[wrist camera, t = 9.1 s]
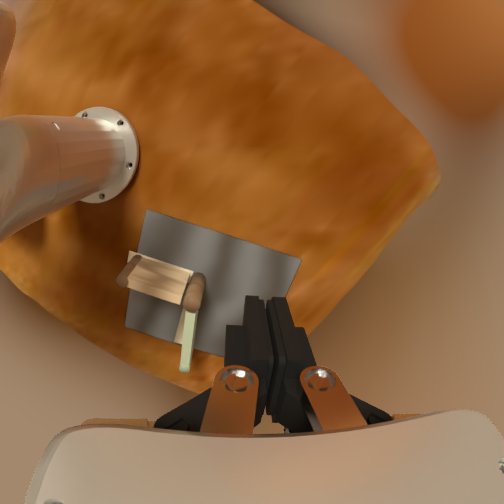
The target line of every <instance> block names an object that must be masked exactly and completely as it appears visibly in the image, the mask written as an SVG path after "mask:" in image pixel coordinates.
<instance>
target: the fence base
mask: <svg viewBox="0 0 504 504" xmlns="http://www.w3.org/2000/svg"><path fill="white" fill-rule="evenodd" d="M301 261H302V260H301V259H300V258H297V257H294V256H291V255H288V254H285V253H282V252H279V251H275V250H272V249H269V248H266V247H263V246H260V245H257V244H254V243H251V242H248V241H245V240H242V239H239V238H236V237H232V236H229V235H226V234H223V233H220V232H217V231H214V230H211V229H208V228H205V227H201V226H198V225H195V224H192V223H189V222H186V221H183V220H180V219H176V218H173V217H170V216H167V215H164V214H161V213H158V212H154V211H151V210H148V209H147V211H146V215H145V219H144V223H143V227H142V232H141V236H140V241H139V246H138V250H137V253H136V252H133V251H130V250H129V255H128V261H127V262H128V264H127V265H126V266H125V267H124V269H123V270H122V271H121V272H120V274H119V275H118V276H117V277H116V284H117V285H118V286H119V287H121V288H125V287H128V288H130V293H129V300H128V306H127V313H126V320H125V327H127V328H130V329H133V330H136V331H139V332H142V333H145V334H148V335H151V336H154V337H157V338H160V339H163V340H166V341H169V342H172V343H176V344H179V345H182V341H183V331H184V322H185V312H186V310H187V311H189V312H196V311H198V316H197V323H196V331H195V339H194V341H195V344H194V349H196V350H200V351H203V352H207V353H211V354H214V355H218V356H222V357H224V355H225V335H226V325H242V324H243V314H244V304H245V296H246V295H251V296H259V299H262V300H264V304H265V309H266V303H267V300H271V299H272V297H285V296H286V294H287V292H288V289H289V287H290V285H291V283H292V281H293V278H294V276H295V274H296V272H297V270H298V267H299V265H300V263H301Z"/></svg>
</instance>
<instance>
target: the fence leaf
mask: <svg viewBox="0 0 504 504" xmlns="http://www.w3.org/2000/svg"><path fill="white" fill-rule="evenodd" d="M197 316H198V311H196V312H189V311H187V310H186V312H185V322H184V331H183V341H182V352H181V363H180V367H179V370H180V372H182V373H188V372H189V370H190V365H191V359H192V354H193V349H194V344H195V341H194V339H195V331H196V323H197Z"/></svg>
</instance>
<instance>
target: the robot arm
mask: <svg viewBox="0 0 504 504" xmlns="http://www.w3.org/2000/svg"><path fill="white" fill-rule="evenodd" d="M15 33H16V19H15V15H14V13H13V11H12V10H11V9H10V7H9V6H8V5H6V4H5V3H3V2H2V1H0V85H1V81H2V78H3V74H4V71H5V68H6V65H7V62H8V59H9V55H10V52H11V49H12V46H13V42H14V39H15ZM87 114H88V116H87ZM122 122H124V124H123V125H122ZM138 160H139V143H138V138H137V135H136V132H135V130H134V127H133V126H132V124H131V123H130V121H129V120H128V119H127V118H126V117H125V116H124V115H123V114H121V113H120V112H118V111H116V110H113V109H110V108H106V107H92V108H88V109H85V110H83V111H81V112H79V113H78V114H76V115H75V116H74V117H68V116H44V115H14V116H9V117H6V118H3V119H0V244H1V243H2V242H3V241H4V240H6V239H7V238H9V237H10V236H11V235H13V234H14V233H16V232H18V231H19V230H21V229H23V228H24V227H26V226H28V225H30V224H32V223H34V222H36V221H38V220H40V219H42V218H44V217H46V216H48V215H50V214H52V213H54V212H56V211H58V210H60V209H62V208H64V207H66V206H68V205H70V204H72V203H74V202H77V201H79V200H80V201H83V202H87V203H101V202H105V201H108V200H110V199H112V198H114V197H115V196H117V195H119V194H120V193H121V192H122V191H123V190H124V189H125V188H126V187H127V186H128V184H129V183H130V182H131V180H132V178H133V176H134V174H135V172H136V169H137V165H138ZM130 163H132V167H131V166H130ZM104 195H105V196H104ZM265 406H266V413H267V415H271V416H272V422H273V423H277V422H278V423H280V424H281V425H283V426H284V434H253V429H254V427H255V426H257V425H258V424H259V423H260V422H261V418H262V415H263V413H264V409H265ZM24 504H504V439H503V437H502V435H501V434H500V433H499V431H498V430H497V428H496V427H495V426H494V425H493V423H491V421H490V420H489V419H488V418H487V417H486V416H485V415H484V414H482V413H480V412H477V411H474V410H468V409H449V410H442V411H436V412H431V413H426V414H393V416H390V415H389V414H387V413H386V412H384V411H382V410H380V409H378V408H376V407H374V406H372V405H370V404H368V403H366V402H364V401H362V400H360V399H358V398H356V397H354V396H352V395H350V394H349V393H348V391H347V390H346V388H345V386H344V385H343V383H342V381H341V380H340V378H339V377H338V375H337V374H336V373H335V372H334V371H332V370H331V369H328V368H326V367H322V366H317V365H316V362H315V359H314V356H313V353H312V350H311V347H310V344H309V341H308V338H307V335H306V332H305V330H304V328H303V327H295V326H294V323H293V320H292V316H291V313H290V310H289V306H288V303H287V300H286V297H272V299H271V300H267V303H266V309H265V304H264V300H262V299H259V296H251V295H246V296H245V304H244V314H243V324H242V325H226V335H225V355H224V368H222V369H220V370H219V371H218V372H217V374H216V375H215V378H214V382H213V385H212V387H211V388H209V389H208V390H206V391H204V392H203V393H201V394H199V395H198V396H196V397H194V398H193V399H191V400H189V401H188V402H186V403H184V404H182V405H181V406H179V407H177V408H175V409H174V410H172V411H170V412H168V413H167V414H165V415H163V416H161V417H160V418H159V419H157V421H148V420H147V418H145V419H144V418H143V419H101V418H94V419H89V420H86V421H84V422H83V423H82V424H81V425H80V426H74V427H71V428H68V429H65V430H63V431H61V432H60V433H59V434H57V435H56V436H55V437H54V438H53V439H52V441H51V442H50V443H49V444H48V446H47V447H46V449H45V451H44V453H43V455H42V456H41V458H40V461H39V463H38V465H37V467H36V469H35V472H34V474H33V477H32V480H31V483H30V486H29V489H28V492H27V494H26V498H25V501H24Z"/></svg>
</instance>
